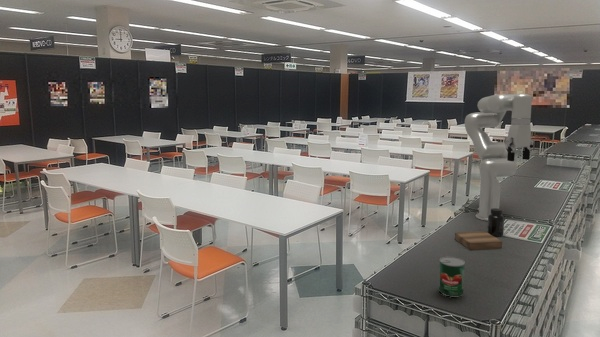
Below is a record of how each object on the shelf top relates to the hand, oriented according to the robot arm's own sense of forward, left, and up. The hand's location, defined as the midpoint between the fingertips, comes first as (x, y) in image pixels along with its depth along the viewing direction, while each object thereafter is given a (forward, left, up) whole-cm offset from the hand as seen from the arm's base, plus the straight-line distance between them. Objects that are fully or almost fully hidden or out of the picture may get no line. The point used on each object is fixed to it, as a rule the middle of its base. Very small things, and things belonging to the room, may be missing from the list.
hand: (518, 160), depth 189 cm
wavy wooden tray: (+10, -23, -35) cm, 43 cm away
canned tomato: (+52, -55, -35) cm, 84 cm away
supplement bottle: (0, -9, -35) cm, 36 cm away
